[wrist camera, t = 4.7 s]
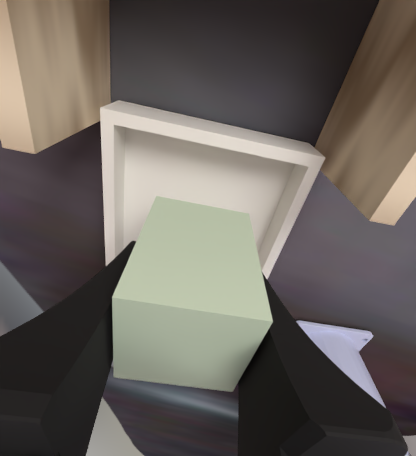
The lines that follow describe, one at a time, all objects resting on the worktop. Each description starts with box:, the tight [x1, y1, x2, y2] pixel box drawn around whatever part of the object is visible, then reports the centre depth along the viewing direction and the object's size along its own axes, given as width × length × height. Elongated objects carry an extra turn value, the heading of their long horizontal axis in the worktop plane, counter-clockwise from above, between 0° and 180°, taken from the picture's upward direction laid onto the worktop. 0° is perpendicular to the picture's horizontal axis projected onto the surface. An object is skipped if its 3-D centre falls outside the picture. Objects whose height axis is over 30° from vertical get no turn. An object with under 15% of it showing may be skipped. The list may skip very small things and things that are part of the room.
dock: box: [0, 0, 416, 225], centre depth 9 cm, size 10×14×7 cm
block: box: [112, 196, 273, 392], centre depth 11 cm, size 4×4×6 cm
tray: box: [100, 100, 326, 366], centre depth 16 cm, size 16×12×6 cm
